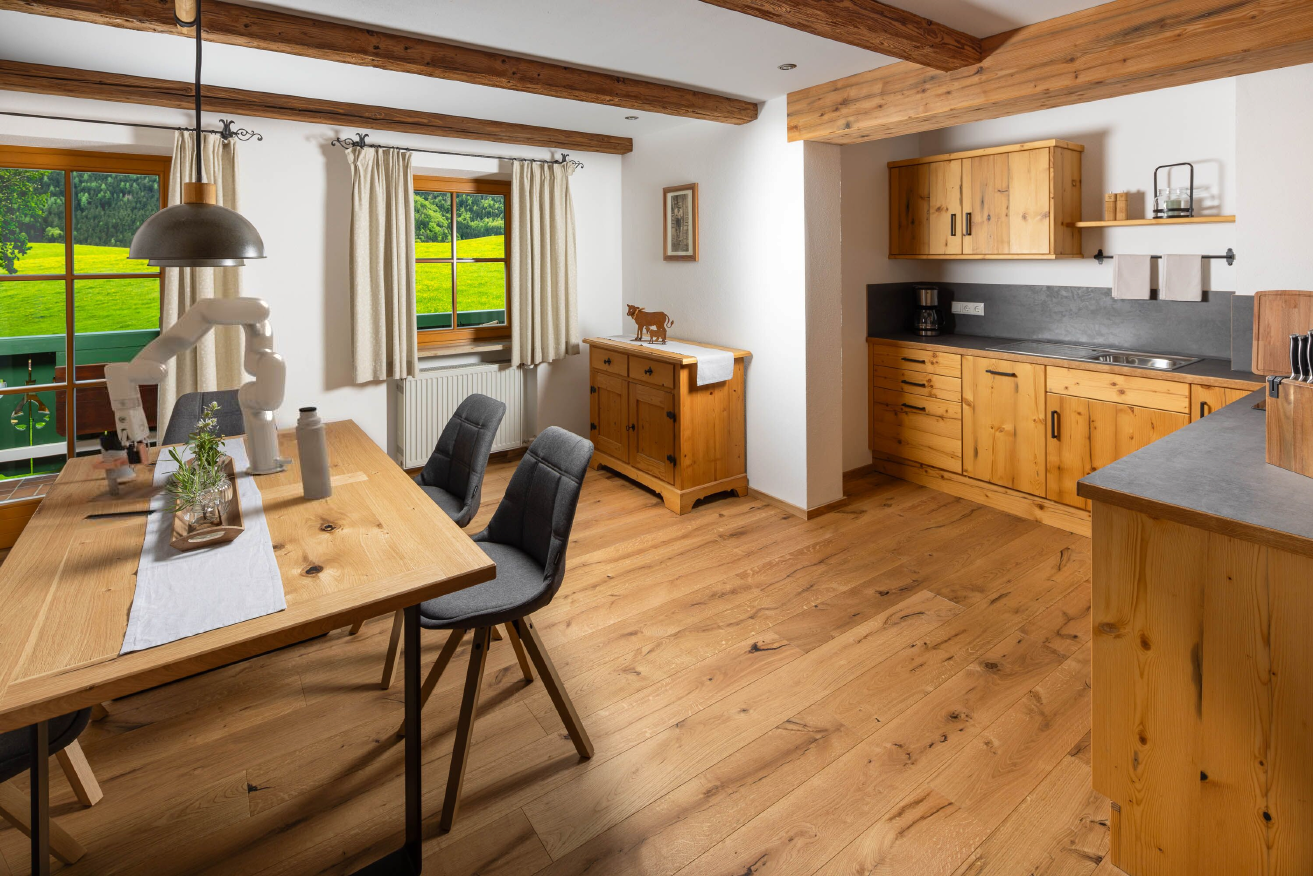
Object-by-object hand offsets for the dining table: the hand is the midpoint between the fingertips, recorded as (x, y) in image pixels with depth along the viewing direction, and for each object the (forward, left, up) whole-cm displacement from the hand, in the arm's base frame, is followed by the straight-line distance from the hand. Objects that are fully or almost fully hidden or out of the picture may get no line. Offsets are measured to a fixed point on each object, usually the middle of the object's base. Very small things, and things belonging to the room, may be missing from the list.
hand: (138, 460), depth 228 cm
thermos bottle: (-53, +13, -12) cm, 56 cm away
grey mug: (+15, -28, -12) cm, 34 cm away
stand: (+4, 0, -12) cm, 12 cm away
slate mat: (-1, +14, -12) cm, 18 cm away
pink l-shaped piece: (+5, 0, -1) cm, 5 cm away
